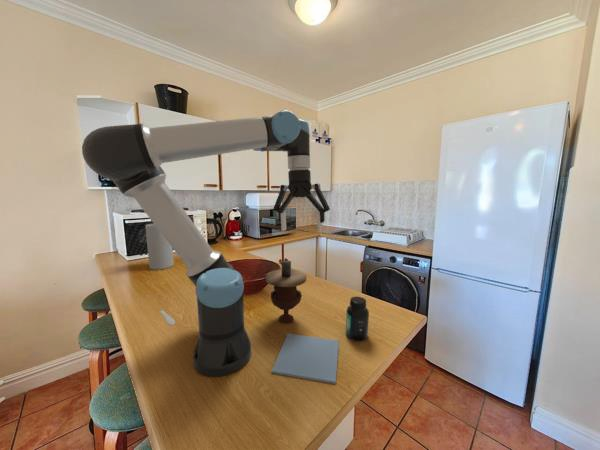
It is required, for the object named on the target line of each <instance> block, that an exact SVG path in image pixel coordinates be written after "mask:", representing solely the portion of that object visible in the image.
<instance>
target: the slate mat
mask: <svg viewBox="0 0 600 450" xmlns="http://www.w3.org/2000/svg"><path fill="white" fill-rule="evenodd" d="M283 341H284V342H283V344H282V347H281V348H280V351H279V353H278V355H277V358H276V360H275V362H274V364H273V367H272V368H271V374H276V375H281V376H288V377H293V378H300V379H305V380H309V381H315V382H323V383H327V384H333V385H336V384H337V383H336V382H337V372H338V371H337V370H338V358H339V345H340V340H337V339H331V338H323V337H317V336H307V335H303V334H293V333H287V334H286V337H285V339H284V340H283Z"/></svg>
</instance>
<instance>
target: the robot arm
mask: <svg viewBox="0 0 600 450" xmlns="http://www.w3.org/2000/svg"><path fill="white" fill-rule="evenodd" d="M309 125H310V124H309V123H308V121H306V120H303V119H299V117H298V116H297V115H296V114H295V113H293V111H290V110H286V109H285V110H280V111H278V112H275V114H273V115H263V116H256V117H255V116H254V117H247V118H246V117H245V118H238V119H237V118H236V119H235V118H234V119H227V120H225V119H224V120H218V121H217V120H215V121H207V122H206V121H205V122H198V123H197V122H196V123H188V124H186V123H185V124H177V125H176V124H175V125H167V126H155V127H150V126H148V125H147V124H145V123H135V124H120V125H108V126H102V127H99V128H96V129H93V130H92V131H91V132H89V133H88V134H87V135H86V137H85V138H84V139H83V142H82V145H81V153H82V157H83V160H84V161H85V164H87V166H88V167H89V168H90V169H91V170H92V171H93V172H94V173H96V174H97V175H98V176H100V177H103V178H106V179H108V180H111V181H112V182H113V183H114V185H115V186H116V187H117V189H118V190H119V191H120V193H122V195H123V196H125V197H129V198H133V199H134V200H135V201H136V203H137V204H138V205H139V206H140V208H141V209H142V210H143V211H144V213H145V214H146V215H147V216H148V218H149V219H150V221H151V222H152V224H155V226H156V227H157V228H158V229H159V231H160V232H161V233H162V235H163V236H164V237H165V239H166V240H167V241H168V242H169V244H170V245H171V246H172V248H173V251H174V252H175V253H176V254H177V255H178V257H179V258H180V259H181V260H182V261H183V263H184V265H185V266H186V268H187V269H186V276H187V277H188V279H189V280H190V281H191V283H192V284H193V286H195V295H196V301H197V302H196V303H197V319H198V320H197V321H198V332H199V333H198V336H197V337H198V338H197V340H196V344H195V347H194V350H193V356H192V357H193V367H194V369H195V371H197V372H198V373H199V374H200V375H203V376H206V377H216V378H217V377H223V376H227V375H229V374H232V373H235V372H237V371H238V370H240V369H242V368H243V367H244V366H245V365H247V363H248V361H249V360H250V358H251V356H252V343H251V340H250V337H249V335H248V333H247V332H248V331H247V330H246V328H245V314H244V313H245V310H244V306H245V305H244V288H245V285H244V281H243V276H242V274H241V273H240V272H239V271H237V270H235V269H234V267H233V265H232V264H231V263H229V262H228V261H227V260H226V258H225V257H224V255H223V254H222V252H221V251H220V250H219V251H217V250H214V249H212V247H211V246H210V244H209V243H208V241H207V240H206V239H205V238H204V235H203V234H202V233H201V232H200V230H199V229H198V227H197V226H196V225H195V223H194V222H193V220H192V219H191V218H190V216H189V215H188V213H187V212H186V211H185V209H184V208H183V206H182V205H181V204H180V202H179V200H178V199H177V198H176V196H175V195H174V194H173V192H172V190H171V189H170V187H169V186H168V185H167V184H166V179H167V174H166V172H165V171H164V169H163V168H162V167H161V165H162V164H164V163H165V164H166V163H172V162H179V161H185V160H191V159H198V158H204V157H210V156H217V155H223V154H224V155H225V154H231V153H236V152H237V153H238V152H242V151H243V152H245V151H249V150H252V151H255V152H262V153H263V152H287V168H288V171H287V172H288V185H287V184H281V185H280V189H279V192H278V195H277V198H276V201H275V204H274V205H273V209H272V210H273V211H274V212H277V214H278V222H280V224H281V225H280V227H281V232H286V231H287V212H285V211H286V209H287V207H288V206H289V205H290V203H291V201H292V200H293V199H294V198H306V199H308V200H309V202H310V203H311V204H312V205H313V206H314V208H315V209H316V210H317V211H318V213H317V217H316V219H317V234H318V233H321V232H322V231H323V223H324V222H325V221H326V220H325V218H326V216H325V213H326V212H329V211H330V210H331V208H330V206H329V203H328V202H327V200H326V198H325V196H324V194H323V192H322V189H321V184H320V183H315V184H312V183H311V180H312V179H311V176H312V175H311V170H310V169H311V155H310V152H311V151H310V150H311V149H310V148H311V147H310V146H311V145H310V137H311V134H310V127H309ZM312 190H313V191H315V192H314V193H315V194H316V196H317V198H318V200H319V201H318V200H317V199H316V198H315V197H314V195H313V194H312V192H311V191H312ZM287 191H289V193H288V195H287V197H285V195H286V193H287ZM284 197H285V200H284ZM283 200H284V201H283ZM282 202H283V203H282Z"/></svg>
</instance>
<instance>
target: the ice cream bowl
mask: <svg viewBox="0 0 600 450" xmlns="http://www.w3.org/2000/svg"><path fill="white" fill-rule="evenodd" d="M297 287H298V286H294V287H278V286H273V290H272V291H271V292H270V299H271V303H272V304H273V305H274V306H275V307H276V308H278V309H280V310H282V311H283V314H280V315H279V316H278V322H280V323H281V324H292V322H293V321H294V316H293V315H292V314H289V311H291V310H292V309H294V308H295V307H296V306H297V305H299V304H300V303H301V300H302V296H303V295H302V291H300V290H298V288H297Z"/></svg>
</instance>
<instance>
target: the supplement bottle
mask: <svg viewBox="0 0 600 450" xmlns="http://www.w3.org/2000/svg"><path fill="white" fill-rule="evenodd" d="M369 319H370V311H369V309H368V307H367V299H365V298H364V297H362V296H352V297H351V298H350V300H349V306H347V308H346V317H345V335H346V337H347V338H348V339H350V340H352V341H354V342H364V341H366V339H367V338H368V334H369Z"/></svg>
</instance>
